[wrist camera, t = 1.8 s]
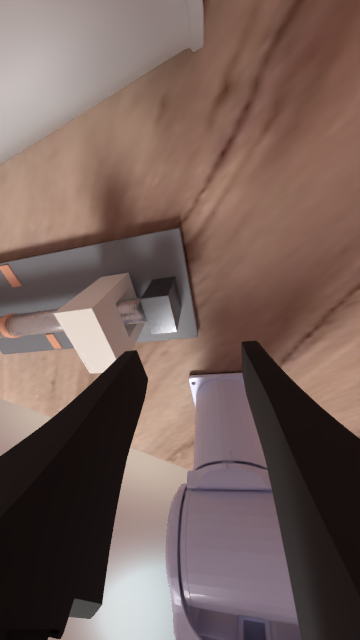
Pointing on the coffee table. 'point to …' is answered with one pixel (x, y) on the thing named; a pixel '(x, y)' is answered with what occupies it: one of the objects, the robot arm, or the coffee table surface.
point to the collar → (100, 322)
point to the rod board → (83, 270)
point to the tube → (81, 57)
